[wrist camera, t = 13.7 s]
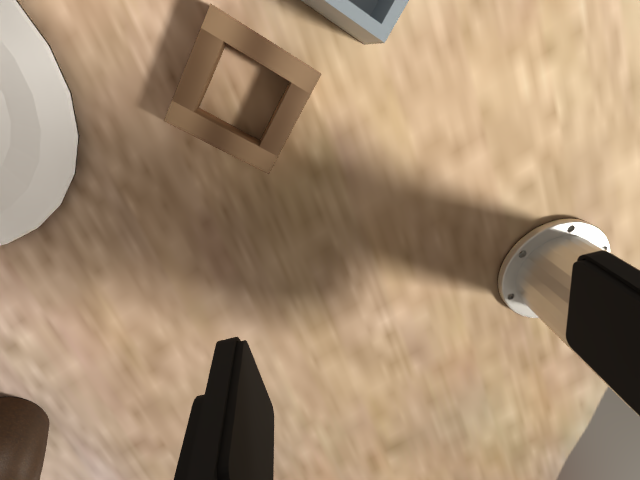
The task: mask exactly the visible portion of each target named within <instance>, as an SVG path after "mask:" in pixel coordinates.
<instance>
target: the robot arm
mask: <svg viewBox="0 0 640 480" xmlns="http://www.w3.org/2000/svg"><path fill="white" fill-rule="evenodd" d="M498 289H499V294H500V296H501V298H502V300H503V301H504V302H505V303H506V305H507V306H508V307H509V308H510V309H511V310H513V311H514V312H515V313H517V314H519V315H521V316H525V317H529V318H540V319H541V320H542V321H543V322H544V323H545V324H546V325H547V326H548V327H549V328H550V329H551V330H552V331H553V332H554V333H555V334H556V335H557V336H558V337H559V338H560V339H561V340H562V341H563V342H564V343H565V344H566V345H567V346H568V347H569V348H570V349H571V350H572V351H573V352H574V353H575V354H576V355H577V356H578V357H579V358H580V359H581V360H582V361H583V362H584V363H585V364H586V365H587V366H588V367H589V368H590V369H591V370H592V371H594V372H595V373H596V374H597V375H598V376H599V377H600V378H601V379H602V380H603V381H604V382H605V383H606V384H607V385H608V386H609V387H610V388H611V389H612V390H613V391H614V392H615V393H616V394H617V395H618V396H619V397H620V398H621V399H622V400H623V401H624V402H625V403H626V404H627V405H628V406H629V407H630V408H631V409H632V410H633V411H635V413H636V414H637V415H638V416H639V417H640V270H639V269H637V268H635V267H633V266H632V265H630V264H628V263H627V262H625V261H623V260H622V259H620V258H618V257H616V256H615V255H613V254H611V253H610V245H609V242H608V239H607V237H606V236H605V234H604V233H603V232H602V231H601V230H600V229H599V228H598V227H596V226H594V225H592V224H590V223H589V222H586V221H583V220H580V219H570V218H569V219H559V220H555V221H552V222H548V223H546V224H544V225H541V226H539V227H537V228H536V229H534V230H532V231H531V232H529V233H528V234H526V235H525V236H524V237H523V238H522V239H520V240H519V241H518V242H517V243H516V244H515V246H514V247H513V248H512V249H511V250H510V252H509V253H508V255H507V256H506V258H505V259H504V261H503V264H502V266H501V268H500V272H499V276H498ZM273 464H274V411H273V406H272V403H271V401H270V398H269V396H268V393H267V391H266V388H265V386H264V383H263V381H262V378H261V375H260V373H259V370H258V368H257V365H256V363H255V360H254V358H253V355H252V353H251V350H250V348H249V345H248V343H247V341H246V340H244V341H240V339H239V338H238V337H234V338H230V339H226V340H221V341H218V342H217V343H216V347H215V351H214V356H213V360H212V365H211V369H210V374H209V378H208V383H207V387H206V392H205V394H204V395H200V396H197V397H196V398H195V399H194V402H193V405H192V409H191V413H190V417H189V421H188V425H187V429H186V433H185V437H184V441H183V445H182V449H181V453H180V457H179V461H178V465H177V469H176V473H175V477H174V480H273Z"/></svg>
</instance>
